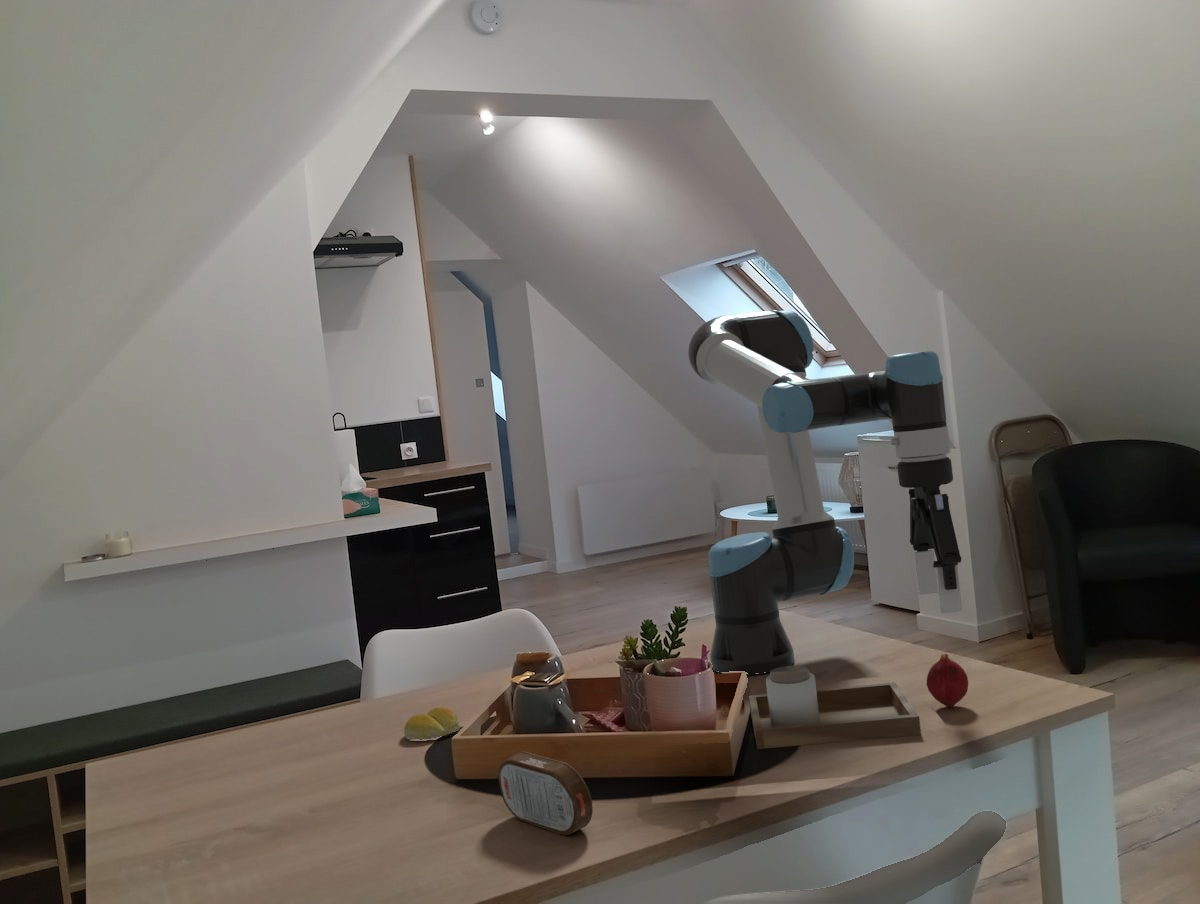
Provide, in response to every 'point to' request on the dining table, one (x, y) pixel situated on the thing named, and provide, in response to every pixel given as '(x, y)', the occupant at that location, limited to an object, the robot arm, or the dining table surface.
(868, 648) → the dining table surface
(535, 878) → the dining table surface
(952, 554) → the robot arm
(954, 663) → the onion
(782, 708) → the jar
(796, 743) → the wooden tray
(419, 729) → the yellow rounded lump
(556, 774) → the tin
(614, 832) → the dining table surface
